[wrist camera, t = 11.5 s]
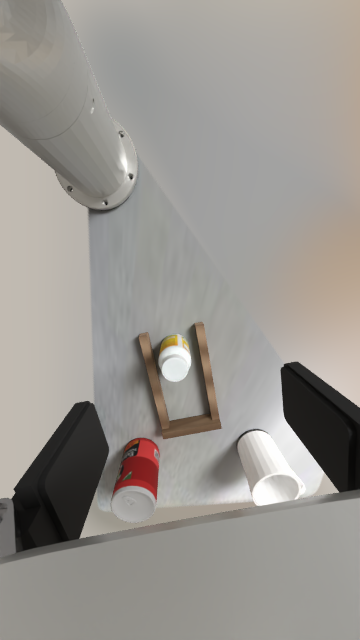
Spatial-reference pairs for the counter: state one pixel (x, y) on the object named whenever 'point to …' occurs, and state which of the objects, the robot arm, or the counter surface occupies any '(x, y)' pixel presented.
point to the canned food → (137, 482)
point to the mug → (267, 469)
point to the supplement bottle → (174, 357)
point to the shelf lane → (168, 427)
